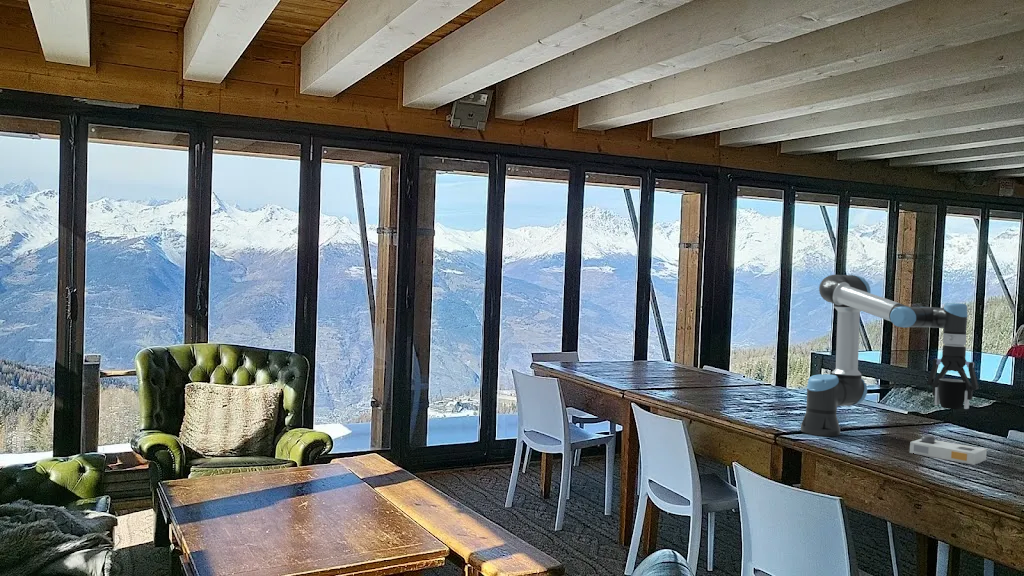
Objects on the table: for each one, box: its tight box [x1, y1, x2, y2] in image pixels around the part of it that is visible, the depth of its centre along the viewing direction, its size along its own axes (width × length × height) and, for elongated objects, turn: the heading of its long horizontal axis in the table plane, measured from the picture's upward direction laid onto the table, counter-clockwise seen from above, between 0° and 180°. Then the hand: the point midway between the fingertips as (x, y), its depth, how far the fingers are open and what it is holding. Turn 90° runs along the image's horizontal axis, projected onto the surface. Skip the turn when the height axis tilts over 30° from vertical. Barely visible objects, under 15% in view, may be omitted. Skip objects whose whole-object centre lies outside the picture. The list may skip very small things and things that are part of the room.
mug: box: [938, 378, 967, 410], centre depth 309 cm, size 12×9×10 cm
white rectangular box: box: [909, 438, 988, 466], centre depth 310 cm, size 22×13×4 cm, turn 44°
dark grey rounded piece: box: [921, 434, 936, 444], centre depth 315 cm, size 4×4×3 cm
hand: (951, 406), depth 309 cm, fingers closed on mug, 9 cm apart
